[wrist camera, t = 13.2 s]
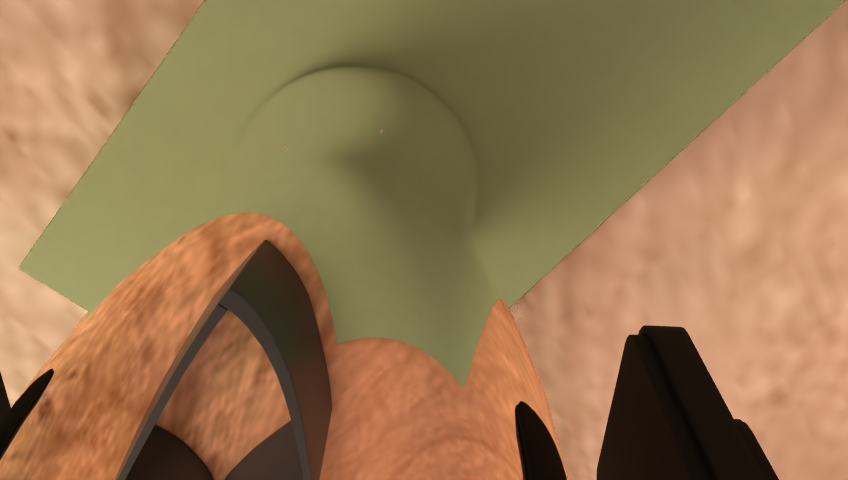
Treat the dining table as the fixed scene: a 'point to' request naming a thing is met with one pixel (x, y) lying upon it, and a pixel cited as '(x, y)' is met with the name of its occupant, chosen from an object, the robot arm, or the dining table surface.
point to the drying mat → (457, 87)
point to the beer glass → (305, 319)
